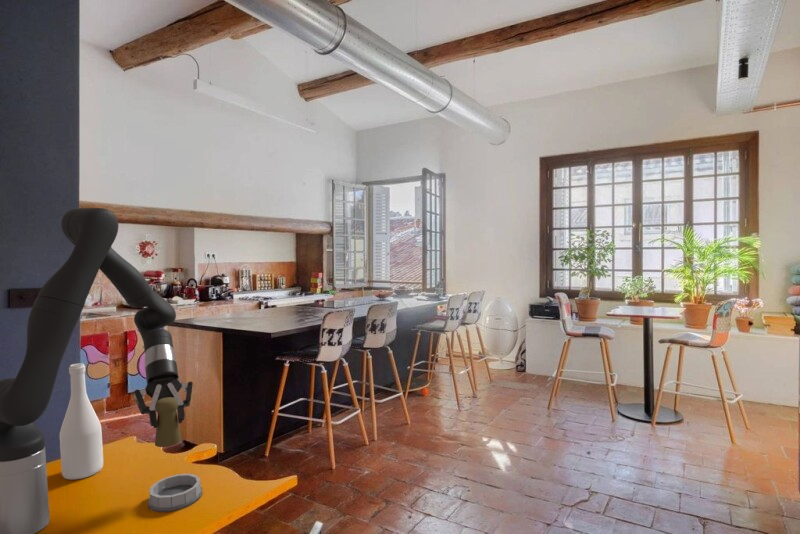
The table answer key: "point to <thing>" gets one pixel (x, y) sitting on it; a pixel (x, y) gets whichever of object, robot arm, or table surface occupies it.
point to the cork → (167, 423)
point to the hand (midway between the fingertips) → (168, 423)
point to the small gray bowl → (175, 493)
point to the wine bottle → (80, 432)
